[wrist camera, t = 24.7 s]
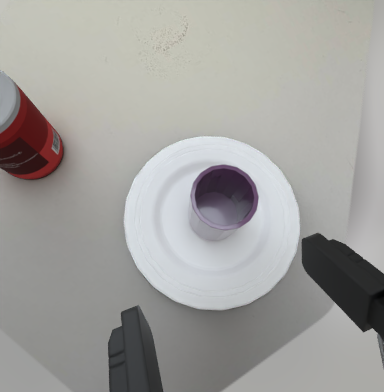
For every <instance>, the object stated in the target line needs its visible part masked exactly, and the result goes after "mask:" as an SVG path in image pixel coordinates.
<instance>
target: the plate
mask: <svg viewBox="0 0 384 392" xmlns="http://www.w3.org/2000/svg"><path fill="white" fill-rule="evenodd" d="M223 164H225V165H230V166H234V167H238V168H239V169H241V170H242V171H244V172H245V173H247V174H248V175H249V176H250V178H251V179H252V180H253V182H254V183H255V185H256V188H257V192H258V196H259V199H258V206H257V211H256V212H255V214H254V215H253V217H252V218H251V220H250V221H249V222H248V223H246V224H245V225H244V226H243V227H241V228H240V229H239V230H237V231H236V232H235V233H233V234H232V235H230V236H229V237H227V238H226V239H223V240H219V241H210V240H206V239H204V238H202V237H200V236H199V235H197V234H196V233H195V232H194V230H193V229H192V227H191V226H190V223H189V219H188V208H189V201H190V194H191V189H192V185H193V182H194V181H195V179H196V178H197V177H198V175H199V174H200V173H201V172H202V171H204V170H206V169H207V168H209V167H211V166H216V165H223ZM123 223H124V229H125V235H126V242H127V247H128V249H129V251H130V253H131V255H132V258H133V260H134V262H135V264H136V266H137V268H138V269H139V271H140V272H141V273H142V274H143V275H144V277H145V278H146V279H147V280H148V281H149V282H150V284H151V285H152V286H153V287H154V288H156V289H157V290H158V291H160V292H161V293H163V294H164V295H166V296H167V297H169V298H170V299H172V300H173V301H175V302H178V303H181V304H184V305H187V306H190V307H193V308H196V309H204V310H227V309H231V308H235V307H239V306H243V305H247V304H249V303H251V302H253V301H254V300H256V299H258V298H259V297H261V296H263V295H265V294H266V293H268V292H269V291H270V290H271V289H272V288H273V287H274V286H275V285H276V284H277V283H278V282H279V281H280V280H281V279H282V278H283V276H284V275H285V274H286V272H287V270H288V268H289V266H290V264H291V262H292V260H293V259H294V257H295V255H296V251H297V246H298V241H299V236H300V217H299V207H298V204H297V201H296V198H295V196H294V193H293V190H292V187H291V185H290V184H289V182H288V181H287V179H286V178H285V176H284V175H283V173H282V172H281V170H280V169H279V168H278V167H277V166H276V165H275V164H274V163H273V162H272V161H271V160H270V159H269V158H268V157H267V156H266V155H265V154H263V153H262V152H260V151H258V150H256V149H255V148H253V147H251V146H249V145H248V144H246V143H243V142H240V141H237V140H233V139H230V138H227V137H216V136H200V137H195V138H189V139H184V140H181V141H179V142H177V143H175V144H172V145H170V146H168V147H166V148H164V149H162V150H161V151H160V152H159V153H157V154H156V155H155V156H154V157H152V158H151V159H150V160H149V161H147V163H146V164H145V165H144V167H143V168H142V169H141V171H140V172H139V173H138V175H137V176H136V177H135V179H134V181H133V183H132V186H131V188H130V191H129V193H128V196H127V198H126V204H125V213H124V222H123Z"/></svg>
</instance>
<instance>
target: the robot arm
mask: <svg viewBox="0 0 384 392" xmlns="http://www.w3.org/2000/svg"><path fill="white" fill-rule="evenodd" d="M302 264H303V267H304V269H305V271H306V272H307V274H308V275H309V276H310V277H311V278H312V279H313V280H314V281H315V282H316V283H317V284H318V285H319V286H320V287H321V288H322V289H323V290H324V291H325V292H326V293H327V295H328V296H329V297H330V298H331V299H332V300H333V301H334V302H335V303H336V304H337V305H338V306H339V307H340V308H341V309H342V310H343V311H344V312H345V313H346V314H347V315H348V317H349V318H350V319H351V320H352V321H353V322H354V323H355V324H356V325H357V326H358V327H359V328H360V329H361V330H362V331H363V332H365V331H367V330H370V329H371V328H373V329H374V330H375V331H376V332H377V333H378V335H377V338H378V342H379V348H380V353H381V358H382V363H383V368H384V274H383V273H382V272H381V271H379V270H378V269H377V268H375V267H374V266H373V265H372V264H370V263H369V262H368V261H366V260H364V259H363V258H362V257H361V256H360V255H359V254H357V253H355V252H354V251H353V250H352V249H350V248H349V247H348V246H347V245H346V244H343V243H341V242H338V241H336V240H334V239H332V240H330V241H329V240H327V239H326V238H325V237H324V236H322V235H321V234H319V233H316V234H313V235H311V236H308V237H306V238H304V239H302ZM121 320H122V326H121V327H118V328H116V329H113V330H112V333H111V336H110V339H109V342H108V355H109V388H110V392H163V388H162V382H161V377H160V372H159V367H158V361H157V356H156V351H155V346H154V340H153V336H152V333H151V330H150V327H149V325H148V323H147V321H146V319H145V317H144V315H143V313H142V311H141V309H140V307H139V305H137V306H135V307H132V308H130V309H127V310H125V311H122V312H121Z"/></svg>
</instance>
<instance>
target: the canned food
mask: <svg viewBox="0 0 384 392" xmlns="http://www.w3.org/2000/svg"><path fill="white" fill-rule="evenodd" d="M62 155H63V146H62V141H61V138H60V136H59V134H58V133H57V132H56V130H55V129H54V128H53V127H52V126H51V124H50V123H49V122H48V121H47V120H46V118H45V117H44V116H43V115H42V114H41V113H40V111H39V110H38V109H37V108H36V107H35V105H34V104H33V103H32V102H31V101H30V100H29V98H28V97H27V96H26V95H25V94H24V92H23V91H22V90H21V89H20V88H19V87H18V86H17V85H16V83H15V82H14V81H13V80H12V79H11V78H10V77H9V76H8V75H6V74H5V73H4V72H3V71H1V70H0V168H1V169H3V170H5V171H6V172H8V173H10V174H11V175H13V176H15V177H18V178H23V179H38V178H42V177H44V176H47V175H48V174H50V173H51V172H53V171H54V170H55V169H56V168H57V166H58V165H59V163H60V161H61V159H62Z"/></svg>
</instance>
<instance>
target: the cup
mask: <svg viewBox="0 0 384 392" xmlns="http://www.w3.org/2000/svg"><path fill="white" fill-rule="evenodd" d="M258 199H259V196H258V192H257V188H256V185H255V183H254V182H253V180H252V179H251V178H250V176H249V175H248V174H247V173H245V172H244V171H242V170H241V169H239V168H238V167H234V166H230V165H225V164H223V165H216V166H211V167H209V168H207V169H206V170H204V171H202V172H201V173H200V174H199V175H198V177H197V178H196V179H195V181H194V182H193V185H192V189H191V194H190V201H189V208H188V219H189V223H190V226H191V227H192V229H193V230H194V232H195V233H196V234H197V235H199V236H200V237H202V238H204V239H206V240H210V241H219V240H223V239H226V238H227V237H229V236H230V235H232V234H233V233H235V232H236V231H237V230H239V229H240V228H241V227H243V226H244V225H245V224H246V223H248V222H249V221H250V220H251V218H252V217H253V215H254V214H255V212H256V211H257V206H258Z"/></svg>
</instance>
